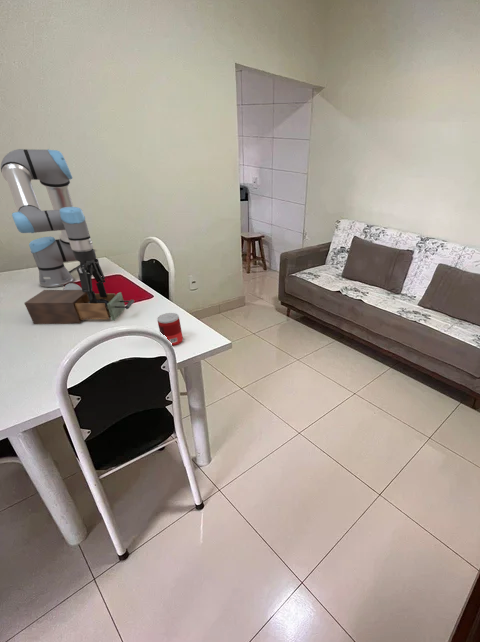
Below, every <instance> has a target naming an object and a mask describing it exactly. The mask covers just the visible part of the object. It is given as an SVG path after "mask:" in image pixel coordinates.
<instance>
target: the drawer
mask: <svg viewBox="0 0 480 642" xmlns="http://www.w3.org/2000/svg"><path fill="white" fill-rule="evenodd" d="M106 294H107V297H100V295H99V293H95V296H96V299H97V300H98V299H105V300H107V301H109V303H108V304H107V306H108V309H109V310H107V308H106V305H105V303H88V302H90V301H89V298H88V295H87V294H85V295H84V296H83V297H82V298H81V299H80V300H78V301H77V302H76V303H75V304H74V305H75V307H76V310H77V313H78V315H79V318H80V319H85V320H111V322H114V321H116V320H117V319H118V318H119V316H121V314H122V313H123V312H124V311H125V310H129V309H130V308H131V306H132V305H133V304H134V303H135V300H134V299H130V300H124V298H123V297H124V296H123V293H122V292H121V291H120V292H118V293H106ZM125 303H126V304H125Z"/></svg>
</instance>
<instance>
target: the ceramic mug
mask: <svg viewBox="0 0 480 642" xmlns="http://www.w3.org/2000/svg"><path fill="white" fill-rule="evenodd" d="M62 290H82V287H81V285H78V284H76V283H74V282H72V283H69V284H67V285H64V286H63V289H62Z"/></svg>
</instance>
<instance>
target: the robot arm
mask: <svg viewBox="0 0 480 642" xmlns="http://www.w3.org/2000/svg"><path fill="white" fill-rule="evenodd" d="M0 171H1V175H2V178H3V179H4V180H5V181H7V183H8V186H9V187H8V188H9V190H10V192H11V196H12V198H13V201H14V205H15V208H16V210H17V211H15V212H12V214H11V216H12V219H13V222H14V224H15V226H16V229H17V231H18V232H19V233H21V234H36V233H45V232H57V231H60V233H59V235H58V237H59V238H58V239H57V238H55V237H54V236H43V237H39V238H35V239H33V240H31V241H30V242H29V244H28V247H29V250H30V253H31V254H32V257H33V259H34V262H35V265H36V266H37V269H38V282H39V285H40V286H41V287H43V288H59V287H65V285H67V284H69V283H74V277H73V275H72V274H71V273H72V272H73V271H75V270H76V271H77V274H78V278H79V282H80V287H81V288H82V291H83V292H86V293H87V295H88V298H89V301H90V303H98V302H97V299H96V296H95V294H96V293H95V291H94V290H93V280H92V277H93V278H94V280H95V281H96V283H95V285H96V288H97V291H98V294H99V295H100V297H107V294H108V293H107V290H106V288H105V284H104V283H106V278H105V274H104V272H103V270H102V268H101V265H100V261H99V258H97V255H96V251H95V250H96V249H94V244H93V240H92V239H91V235H90V232H89V228H88V225H87V221H86V216H85V214H84V212H83V211H84V210H82V208H80V207H78V206H74V204H73V201H72V198H71V194H70V190H69V187H70V185H71V181H70V180H72V179H73V175H72V172H71V169H70V168H69V166H68V163H67V161H66V159H65V157H64V155H63V153H62V152H61V151H60V150H58V149H57V150H56V149H49V148H47V149H33V148H32V149H29V148H28V149H27V148H25V149H24V148H17V149H13V150H11V151H9V152H8V153H6V154H5V155H4V157H3V158H2V160H1V163H0ZM33 180H34V181H39V183H40V185H42V186H43V187H44V188H46V191H47V195H48V197H49V200H50V203H51V206H52V209H50V210H42V208H41V206H40V203H39V200H38V198H37V195H36V193H35V190H34V187H33V185H32V181H33ZM74 261H75V262H76V261H77V262H79V265H78V266H76V267H74V268H72V269H70V270H69V271H68V269H67V268H66V265H65V264H64V263H69V262H74Z"/></svg>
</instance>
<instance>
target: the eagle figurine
mask: <svg viewBox="0 0 480 642" xmlns="http://www.w3.org/2000/svg"><path fill="white" fill-rule="evenodd" d="M97 302H98V303H105V305H106V308H107V310H109V309H108V306H107V304H108V303H109V301H107V300H105V299H98V300H97ZM88 303H90V302H88Z"/></svg>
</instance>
